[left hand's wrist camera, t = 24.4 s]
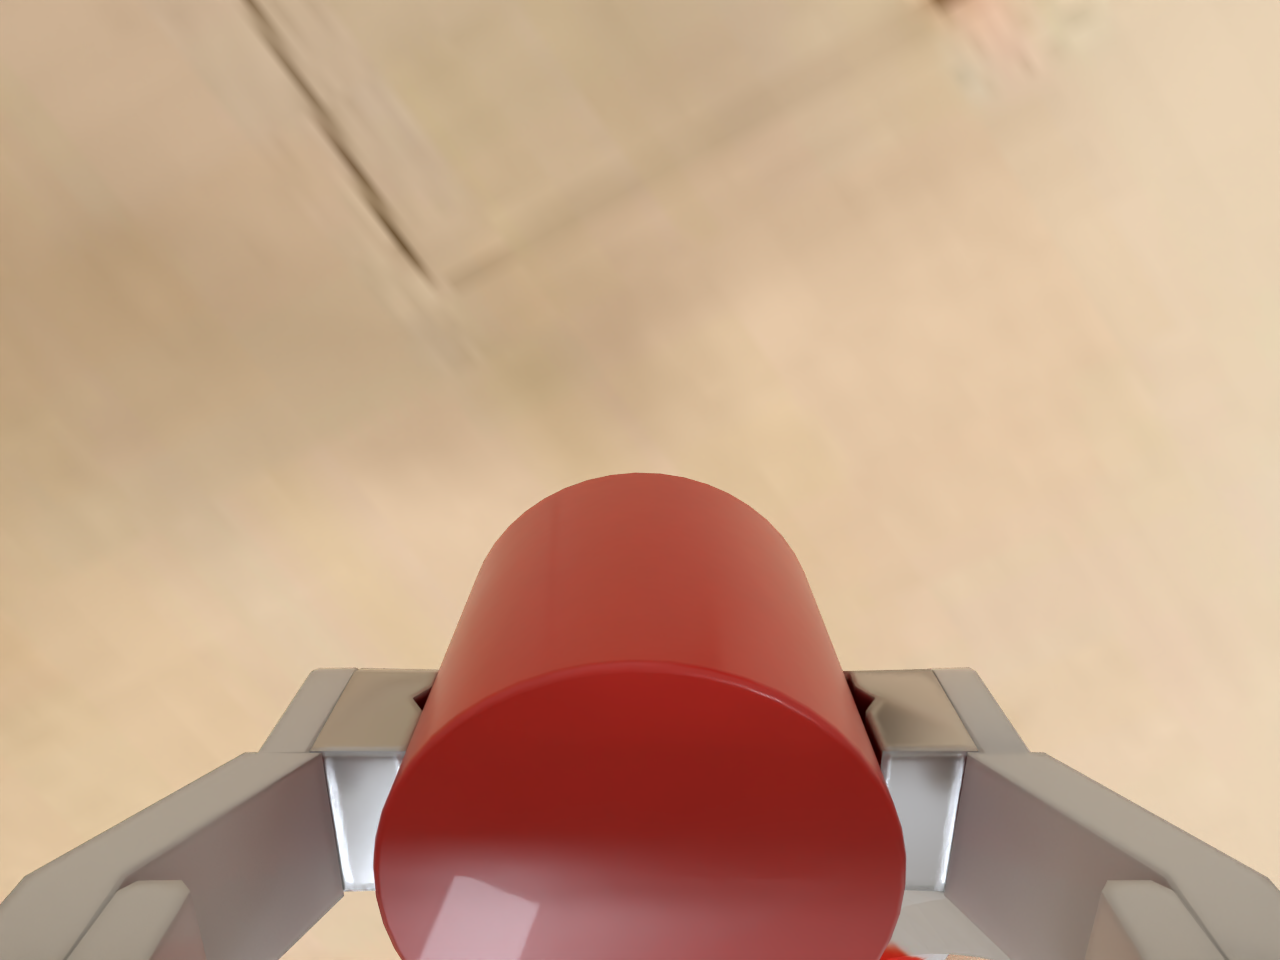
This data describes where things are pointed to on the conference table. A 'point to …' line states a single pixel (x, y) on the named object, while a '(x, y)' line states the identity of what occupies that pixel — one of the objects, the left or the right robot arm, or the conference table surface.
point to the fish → (936, 931)
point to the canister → (640, 751)
